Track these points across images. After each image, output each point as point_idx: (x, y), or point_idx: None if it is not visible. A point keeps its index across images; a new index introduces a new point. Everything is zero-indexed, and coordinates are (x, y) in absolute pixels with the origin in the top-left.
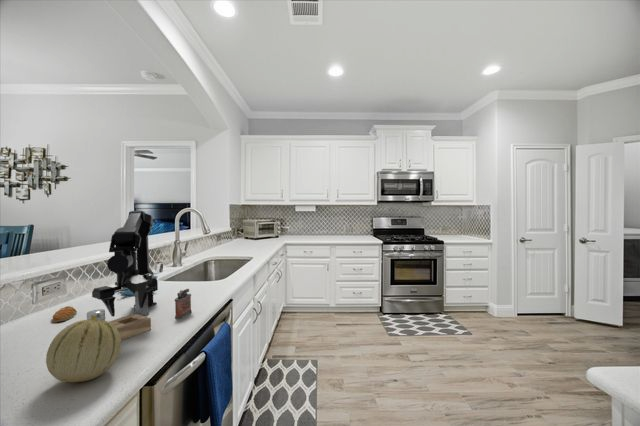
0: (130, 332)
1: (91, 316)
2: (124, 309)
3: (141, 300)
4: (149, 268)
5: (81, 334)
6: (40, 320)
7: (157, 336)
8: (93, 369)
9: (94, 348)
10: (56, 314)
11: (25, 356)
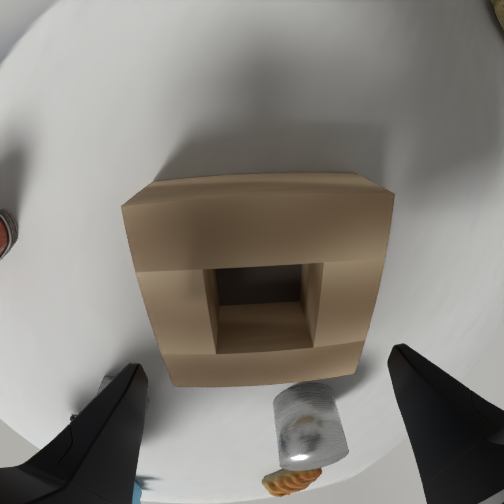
0: (302, 177)
1: (343, 439)
2: (162, 449)
3: (117, 428)
4: None
5: None
6: (321, 475)
7: (191, 30)
8: None
9: None
10: (312, 481)
11: (487, 327)
